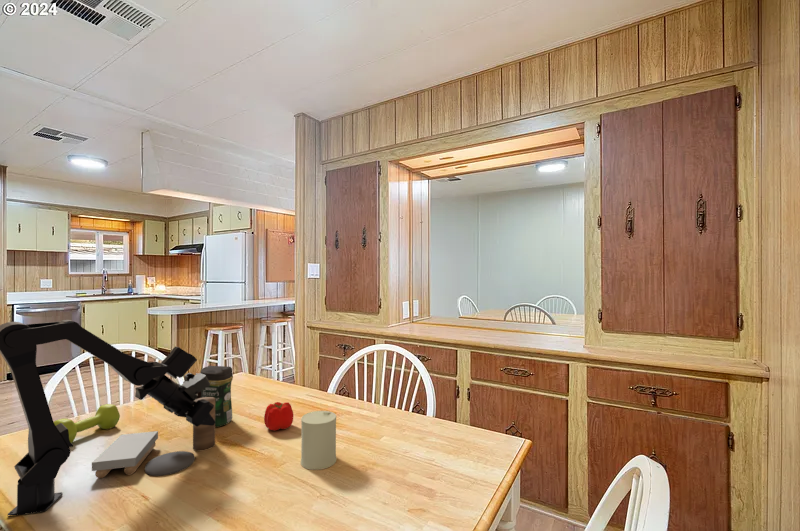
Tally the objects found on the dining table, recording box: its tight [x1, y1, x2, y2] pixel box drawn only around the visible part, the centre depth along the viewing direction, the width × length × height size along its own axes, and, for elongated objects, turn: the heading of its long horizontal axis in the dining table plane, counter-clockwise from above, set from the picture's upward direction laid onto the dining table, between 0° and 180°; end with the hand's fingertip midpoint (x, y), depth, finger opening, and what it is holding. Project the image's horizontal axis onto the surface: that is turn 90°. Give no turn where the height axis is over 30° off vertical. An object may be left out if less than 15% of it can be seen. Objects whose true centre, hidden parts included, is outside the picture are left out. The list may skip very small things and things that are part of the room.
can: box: [300, 410, 337, 471], centre depth 101 cm, size 9×9×12 cm
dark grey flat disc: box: [144, 450, 196, 477], centre depth 99 cm, size 11×11×1 cm
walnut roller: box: [192, 397, 216, 452], centre depth 109 cm, size 6×6×13 cm
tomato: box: [263, 401, 294, 431], centre depth 122 cm, size 9×9×8 cm
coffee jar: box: [200, 365, 234, 428], centre depth 126 cm, size 10×8×19 cm
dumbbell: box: [53, 403, 121, 444], centre depth 116 cm, size 16×8×7 cm, turn 162°
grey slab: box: [91, 430, 159, 479], centre depth 100 cm, size 16×9×4 cm, turn 15°
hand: (209, 421), depth 110 cm, fingers closed on walnut roller, 6 cm apart
